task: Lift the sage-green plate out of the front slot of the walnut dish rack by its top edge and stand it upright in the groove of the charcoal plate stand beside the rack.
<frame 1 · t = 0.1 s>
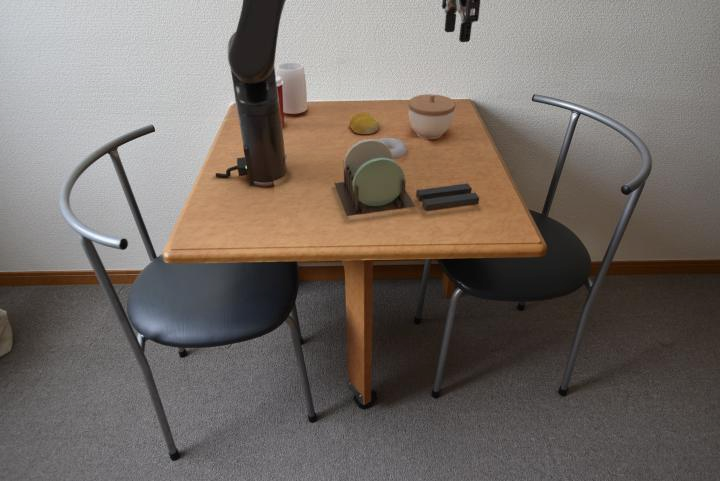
hand: (456, 36, 105), 29 cm above the table, tool pointing down, fingers open, 8 cm apart
sage plate: (378, 205, 101), point 1 cm above the table, touching dish rack
lidded bowl: (429, 134, 134), on the table
dish rack: (373, 200, 106), on the table
plate stand: (446, 205, 104), on the table
bread roll: (363, 129, 137), on the table
cup: (294, 113, 147), on the table
donut: (387, 156, 123), on the table
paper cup: (274, 127, 139), on the table
cream plate: (368, 184, 108), point 1 cm above the table, touching dish rack
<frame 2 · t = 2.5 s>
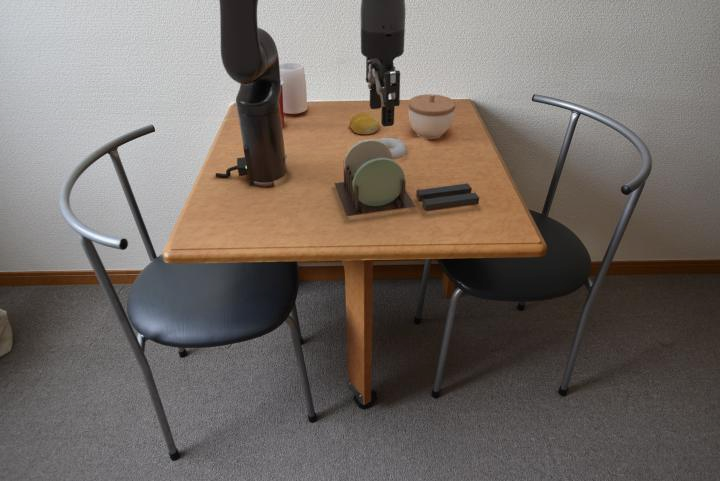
hand: (381, 116, 90), 21 cm above the table, tool pointing down, fingers open, 8 cm apart
nothing on the table moved.
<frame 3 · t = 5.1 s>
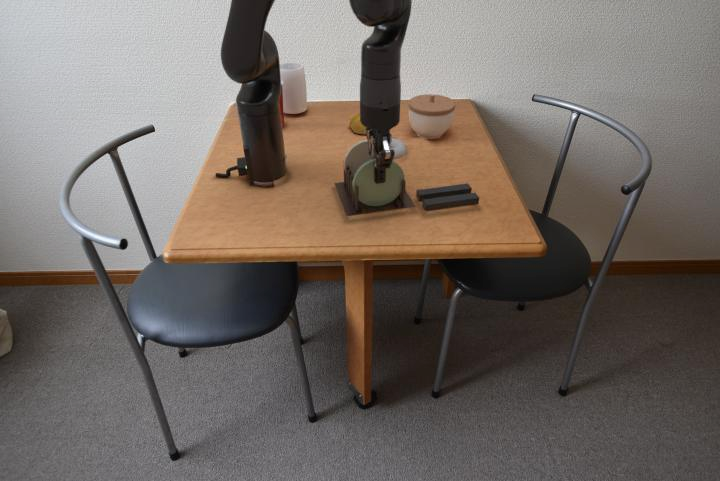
hand: (378, 180, 98), 8 cm above the table, tool pointing down, fingers closed on sage plate, 1 cm apart
sage plate: (378, 204, 102), point 2 cm above the table, touching dish rack, gripper
everything else where it was.
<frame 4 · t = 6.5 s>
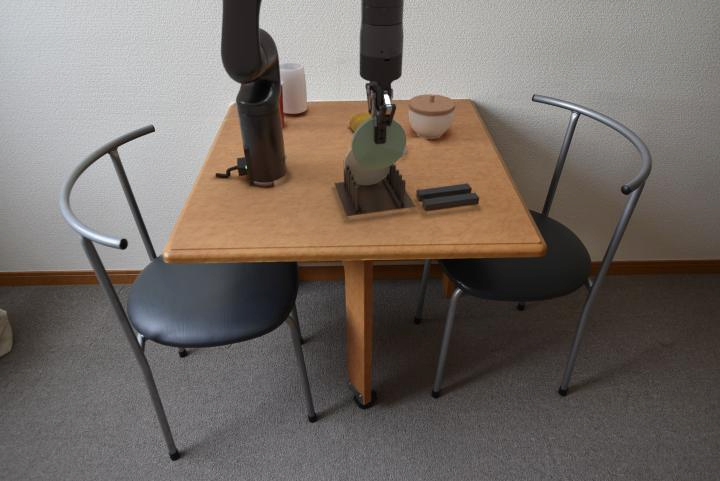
hand: (378, 141, 93), 16 cm above the table, tool pointing down, fingers closed on sage plate, 1 cm apart
sage plate: (378, 168, 96), point 10 cm above the table, touching gripper
everything else where it was.
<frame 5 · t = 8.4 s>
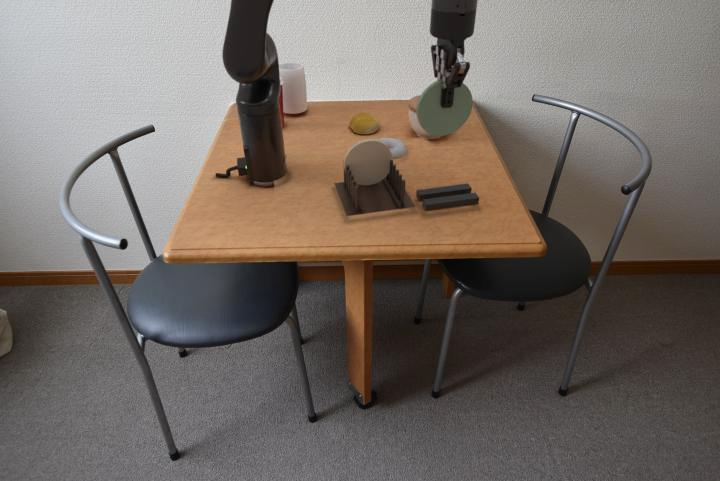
hand: (444, 105, 90), 23 cm above the table, tool pointing down, fingers closed on sage plate, 1 cm apart
sage plate: (442, 134, 93), point 17 cm above the table, touching gripper
everything else where it was.
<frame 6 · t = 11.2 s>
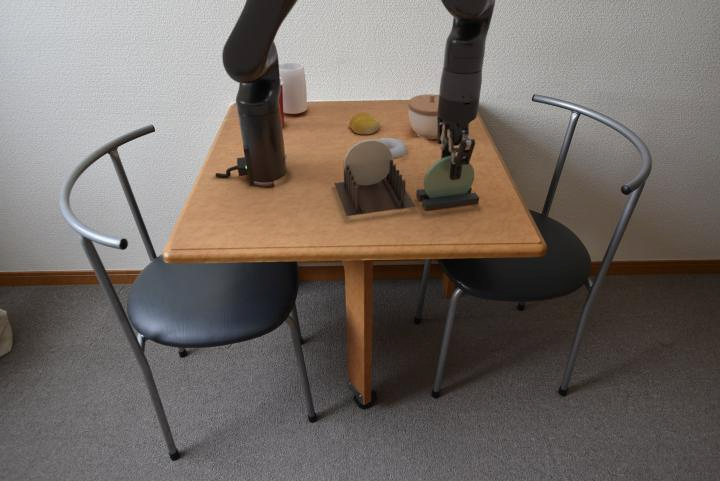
hand: (450, 172, 99), 8 cm above the table, tool pointing down, fingers open, 4 cm apart
sage plate: (446, 202, 103), point 1 cm above the table, touching plate stand
everything else where it was.
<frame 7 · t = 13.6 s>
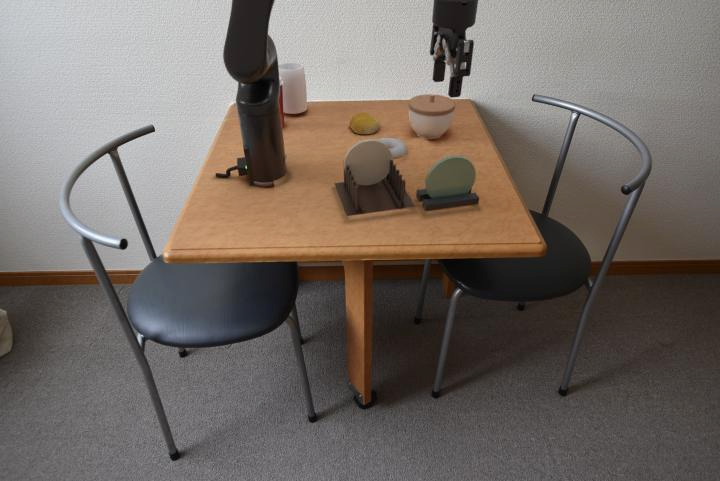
hand: (445, 88, 91), 25 cm above the table, tool pointing down, fingers open, 8 cm apart
nothing on the table moved.
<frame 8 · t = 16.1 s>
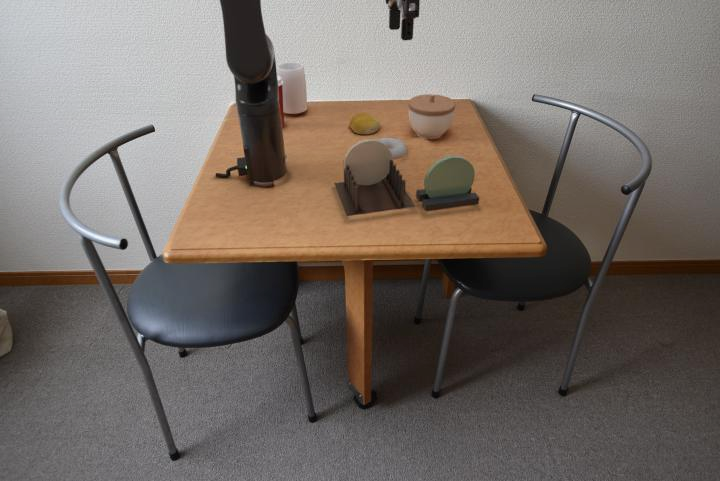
hand: (400, 34, 96), 32 cm above the table, tool pointing down, fingers open, 8 cm apart
nothing on the table moved.
at the end: sage plate 0.1 cm off-centre on the plate stand, point 0.8 cm above the plate stand's base; sage plate tilted 1°; the gripper is holding nothing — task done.
